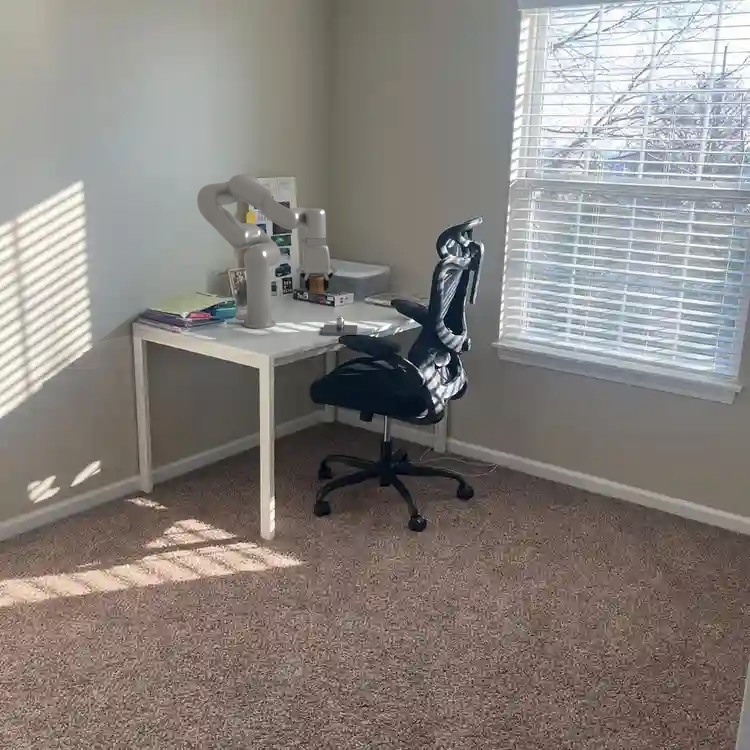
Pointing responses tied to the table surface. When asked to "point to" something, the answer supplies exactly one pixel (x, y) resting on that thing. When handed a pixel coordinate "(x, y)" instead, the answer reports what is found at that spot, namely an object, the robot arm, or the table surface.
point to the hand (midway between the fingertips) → (317, 289)
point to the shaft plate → (337, 331)
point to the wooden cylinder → (316, 284)
